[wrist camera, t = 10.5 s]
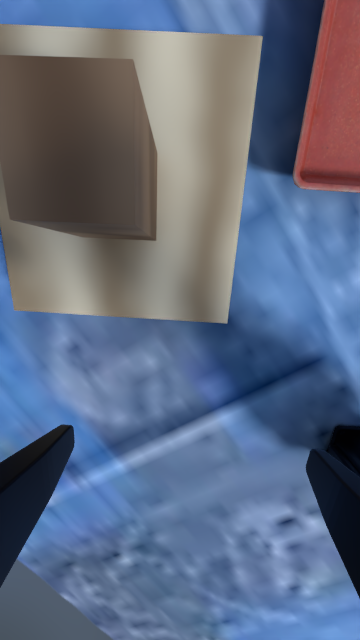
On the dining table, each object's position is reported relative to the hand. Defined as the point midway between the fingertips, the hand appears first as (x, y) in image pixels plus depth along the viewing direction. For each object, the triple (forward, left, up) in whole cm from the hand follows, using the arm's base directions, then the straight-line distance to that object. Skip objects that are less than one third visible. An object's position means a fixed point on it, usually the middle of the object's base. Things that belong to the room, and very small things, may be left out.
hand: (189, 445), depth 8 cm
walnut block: (+5, -10, -9) cm, 14 cm away
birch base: (+5, -10, -12) cm, 16 cm away
